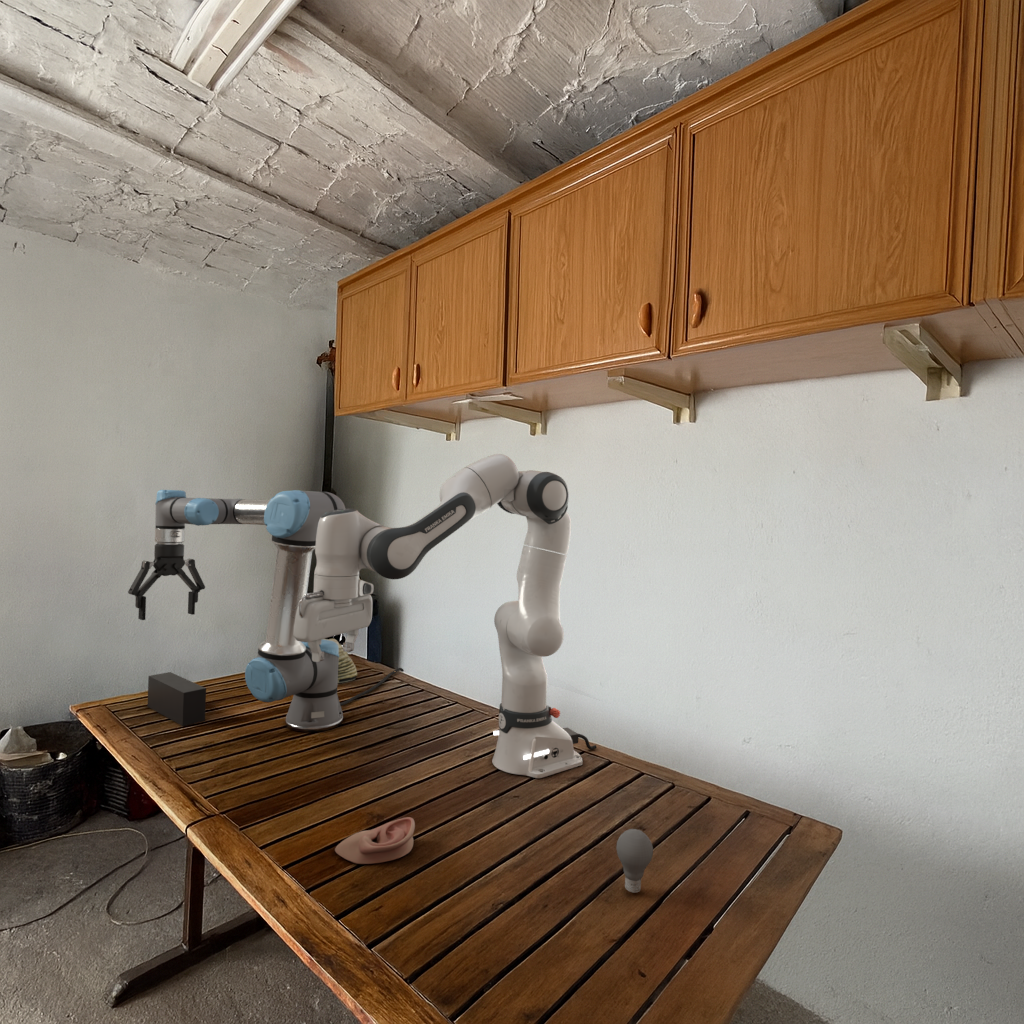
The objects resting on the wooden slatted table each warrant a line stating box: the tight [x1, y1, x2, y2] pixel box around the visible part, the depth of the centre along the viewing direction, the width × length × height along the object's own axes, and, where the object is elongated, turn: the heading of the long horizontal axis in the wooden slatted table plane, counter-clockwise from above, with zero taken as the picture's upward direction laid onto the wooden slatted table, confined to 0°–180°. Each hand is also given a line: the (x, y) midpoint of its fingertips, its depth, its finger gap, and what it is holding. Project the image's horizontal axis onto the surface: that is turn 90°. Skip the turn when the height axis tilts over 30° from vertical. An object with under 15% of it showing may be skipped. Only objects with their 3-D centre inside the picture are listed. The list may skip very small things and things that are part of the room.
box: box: [147, 671, 207, 727], centre depth 179 cm, size 22×6×9 cm, turn 52°
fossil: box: [322, 638, 359, 684], centre depth 215 cm, size 9×18×15 cm, turn 132°
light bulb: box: [615, 828, 654, 894], centre depth 106 cm, size 6×6×10 cm
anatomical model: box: [334, 816, 416, 865], centre depth 115 cm, size 13×4×12 cm
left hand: (167, 616), depth 183 cm, fingers open, 13 cm apart
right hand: (333, 656), depth 129 cm, fingers open, 8 cm apart
